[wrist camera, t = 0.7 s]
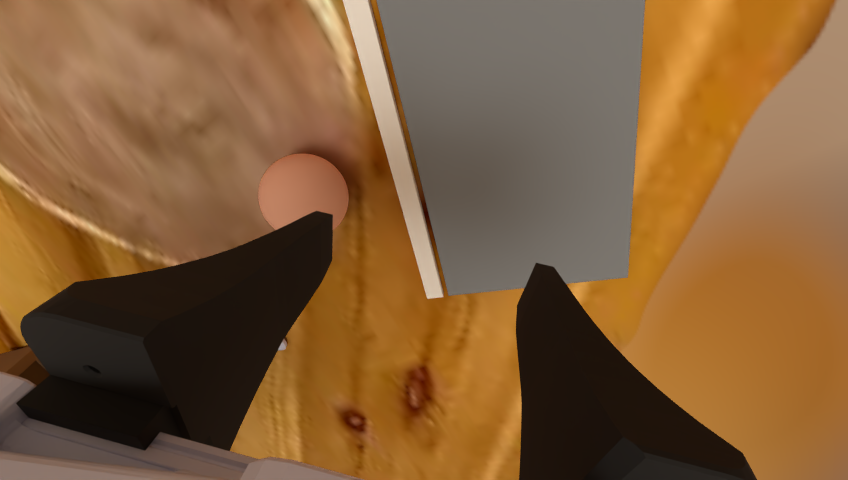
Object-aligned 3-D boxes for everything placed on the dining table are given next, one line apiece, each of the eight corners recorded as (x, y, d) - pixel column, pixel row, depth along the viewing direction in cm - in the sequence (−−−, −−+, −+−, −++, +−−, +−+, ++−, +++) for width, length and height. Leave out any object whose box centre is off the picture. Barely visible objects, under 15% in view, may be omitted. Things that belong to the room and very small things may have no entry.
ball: (300, 220, 25) (265, 261, 21) (269, 150, 22) (222, 180, 18) (368, 209, 24) (345, 250, 20) (343, 135, 21) (311, 163, 17)
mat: (428, 294, 27) (427, 298, 26) (337, -29, 17) (334, -30, 17) (625, 273, 24) (628, 278, 24) (648, -127, 14) (654, -132, 14)
